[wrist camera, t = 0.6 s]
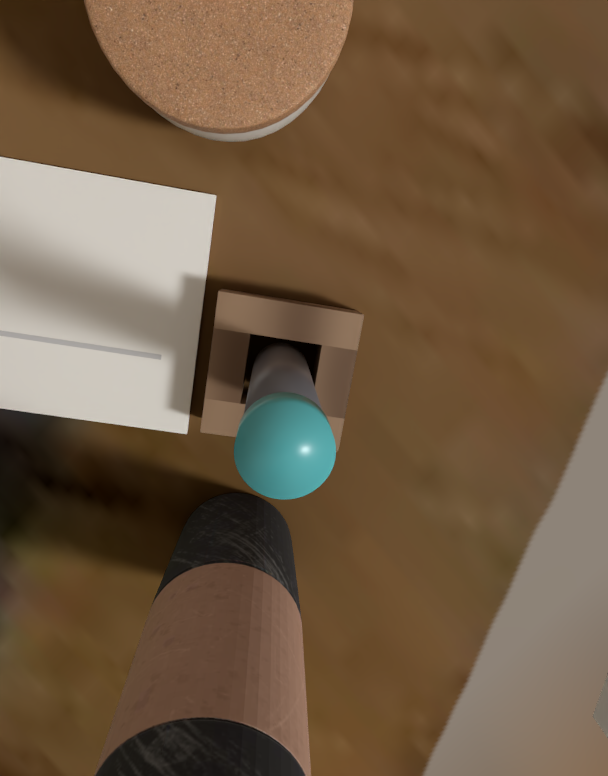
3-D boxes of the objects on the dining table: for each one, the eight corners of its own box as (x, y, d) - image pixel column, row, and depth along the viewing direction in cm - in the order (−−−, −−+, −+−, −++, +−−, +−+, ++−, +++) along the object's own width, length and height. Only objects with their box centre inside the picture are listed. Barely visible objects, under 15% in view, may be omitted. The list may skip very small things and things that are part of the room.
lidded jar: (278, -105, 27) (280, -291, 18) (366, 106, 30) (407, 38, 20) (91, -3, 28) (1, -132, 19) (193, 196, 30) (157, 169, 21)
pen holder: (205, 419, 33) (200, 432, 31) (222, 288, 31) (218, 291, 29) (333, 437, 34) (338, 451, 31) (357, 310, 32) (363, 314, 30)
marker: (248, 388, 33) (227, 492, 18) (256, 333, 32) (241, 396, 17) (303, 396, 33) (326, 505, 19) (312, 342, 32) (344, 411, 18)
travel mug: (152, 533, 35) (-3, 883, 15) (246, 465, 34) (210, 740, 14) (227, 614, 36) (173, 1023, 17) (318, 551, 36) (372, 902, 16)
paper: (-158, 384, 31) (-163, 385, 31) (-165, 127, 28) (-170, 126, 28) (187, 432, 33) (186, 434, 33) (216, 195, 30) (215, 195, 30)
